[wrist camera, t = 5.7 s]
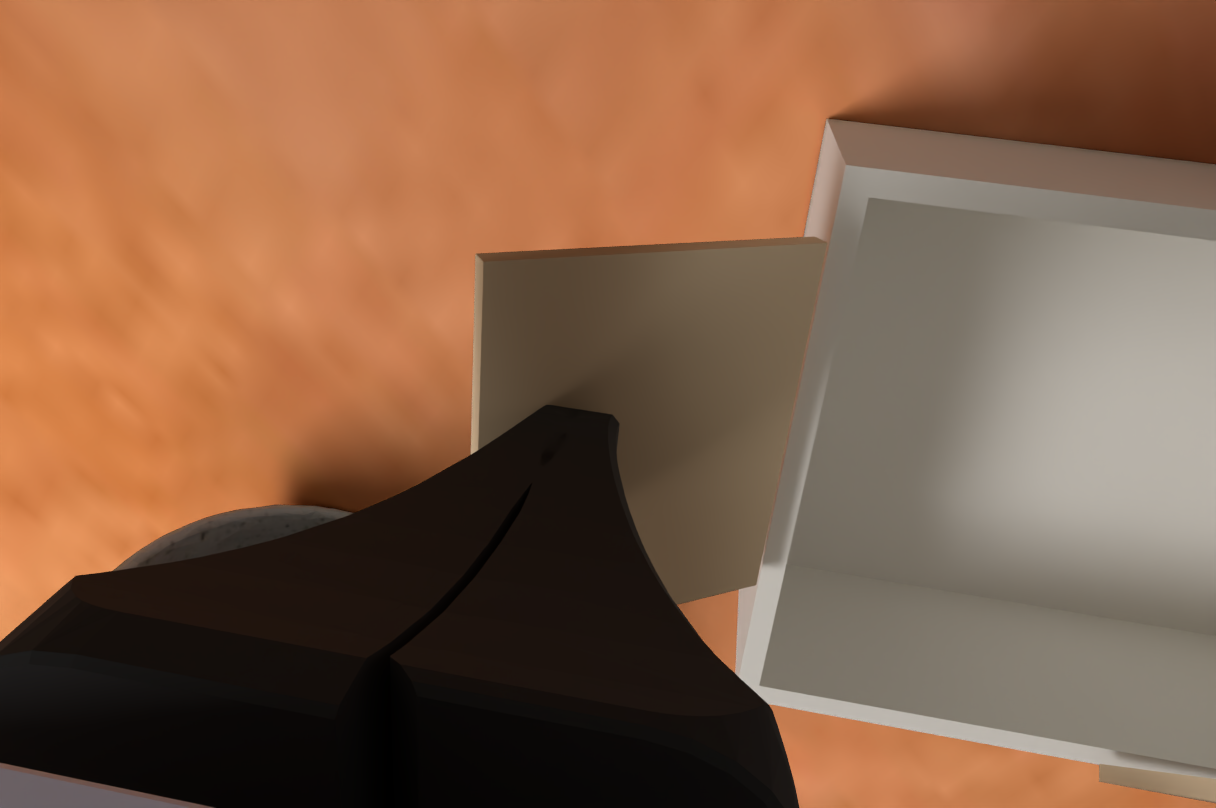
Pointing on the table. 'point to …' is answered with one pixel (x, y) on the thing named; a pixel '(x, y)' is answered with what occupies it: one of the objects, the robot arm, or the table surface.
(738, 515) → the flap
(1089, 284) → the carton
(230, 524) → the ceramic mug
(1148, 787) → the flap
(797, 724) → the table surface
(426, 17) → the table surface
